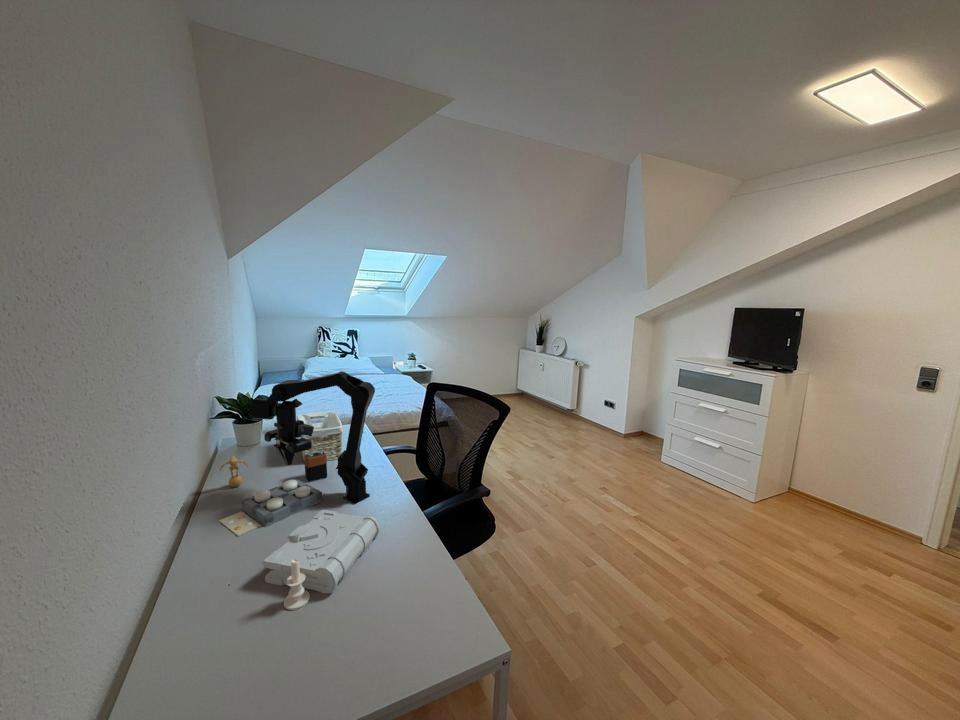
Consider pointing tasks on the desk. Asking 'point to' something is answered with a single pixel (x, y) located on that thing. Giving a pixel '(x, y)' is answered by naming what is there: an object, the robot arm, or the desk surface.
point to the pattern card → (239, 523)
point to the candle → (296, 589)
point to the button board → (289, 504)
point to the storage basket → (324, 434)
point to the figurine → (236, 479)
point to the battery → (315, 466)
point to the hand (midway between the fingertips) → (289, 464)
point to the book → (323, 550)
